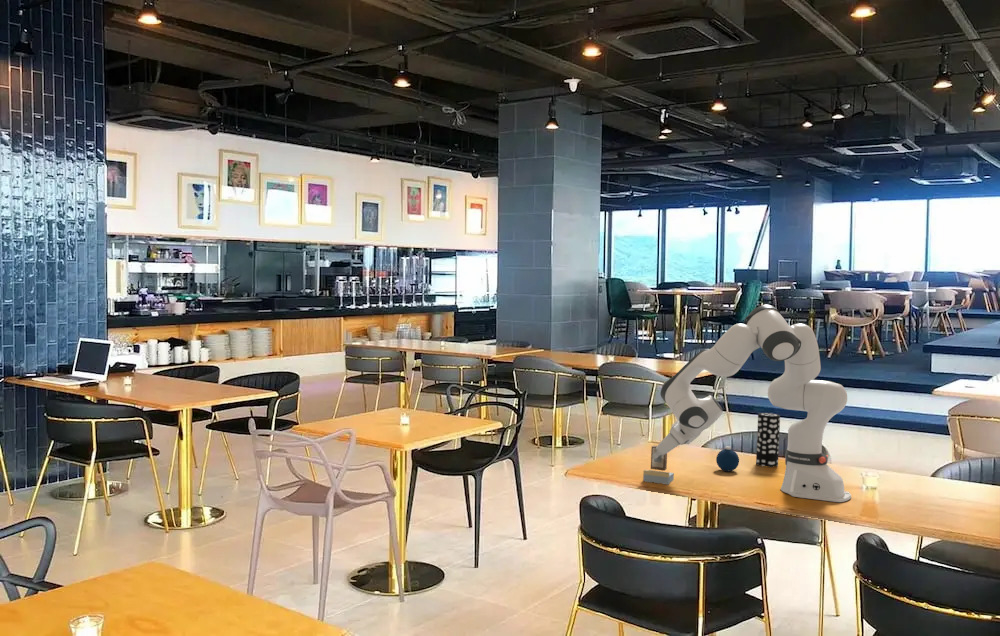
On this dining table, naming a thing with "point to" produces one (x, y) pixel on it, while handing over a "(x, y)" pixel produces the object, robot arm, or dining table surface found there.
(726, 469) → the christmas ornament
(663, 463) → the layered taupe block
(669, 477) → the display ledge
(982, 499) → the dining table surface
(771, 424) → the spotted tube
